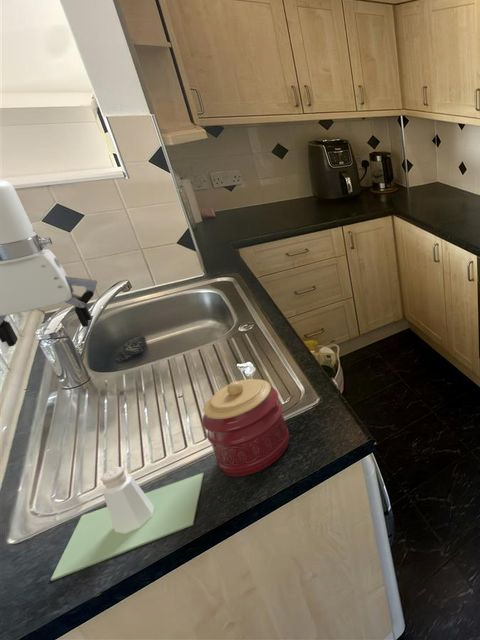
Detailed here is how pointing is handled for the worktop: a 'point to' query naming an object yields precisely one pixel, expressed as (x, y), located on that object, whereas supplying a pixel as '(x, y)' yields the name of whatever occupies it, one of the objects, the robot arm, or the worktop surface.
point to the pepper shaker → (125, 501)
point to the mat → (103, 542)
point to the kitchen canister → (245, 427)
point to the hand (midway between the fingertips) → (51, 333)
